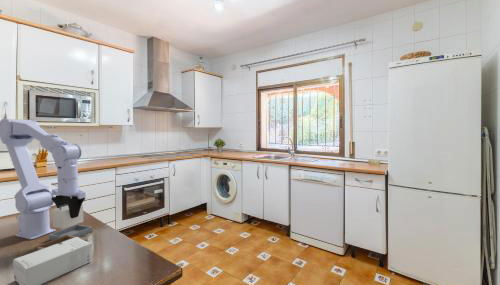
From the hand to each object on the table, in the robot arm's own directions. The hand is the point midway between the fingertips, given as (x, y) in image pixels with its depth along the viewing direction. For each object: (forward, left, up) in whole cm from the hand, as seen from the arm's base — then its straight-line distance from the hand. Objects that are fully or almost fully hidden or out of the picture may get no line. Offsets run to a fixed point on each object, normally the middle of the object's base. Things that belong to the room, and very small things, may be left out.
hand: (69, 216), depth 84 cm
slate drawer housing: (-2, +2, -8) cm, 9 cm away
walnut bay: (+7, -7, -8) cm, 13 cm away
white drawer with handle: (0, 0, -3) cm, 3 cm away
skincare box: (+18, -7, -5) cm, 20 cm away
